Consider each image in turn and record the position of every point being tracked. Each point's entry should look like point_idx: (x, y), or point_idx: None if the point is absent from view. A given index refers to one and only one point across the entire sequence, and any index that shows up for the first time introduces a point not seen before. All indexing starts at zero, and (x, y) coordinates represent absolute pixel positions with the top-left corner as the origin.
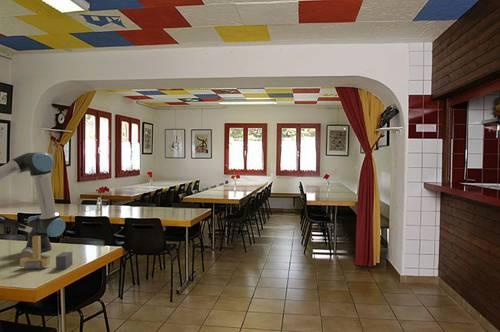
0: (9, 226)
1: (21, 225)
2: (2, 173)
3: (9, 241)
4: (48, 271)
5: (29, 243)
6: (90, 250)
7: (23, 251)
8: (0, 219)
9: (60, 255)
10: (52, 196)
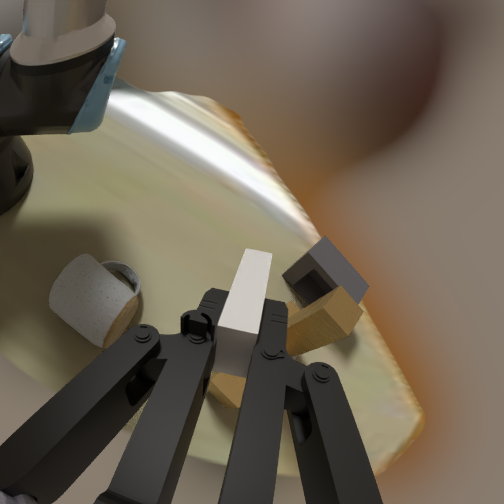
0: (116, 432)
1: (284, 342)
2: None
3: None
4: (326, 347)
5: None
6: (170, 127)
7: (107, 324)
8: None
9: (352, 289)
10: None
